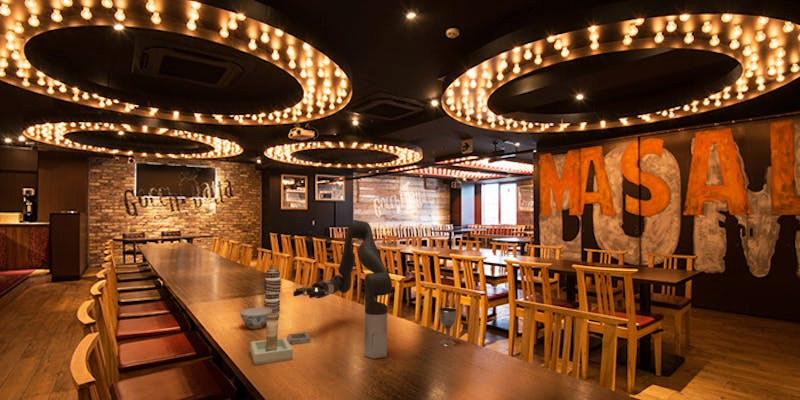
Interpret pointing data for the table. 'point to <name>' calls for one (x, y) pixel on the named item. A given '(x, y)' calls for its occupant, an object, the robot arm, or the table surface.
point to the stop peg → (271, 332)
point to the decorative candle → (272, 290)
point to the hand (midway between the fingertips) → (301, 294)
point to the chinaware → (255, 317)
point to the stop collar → (298, 338)
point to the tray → (271, 352)
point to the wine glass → (447, 322)
